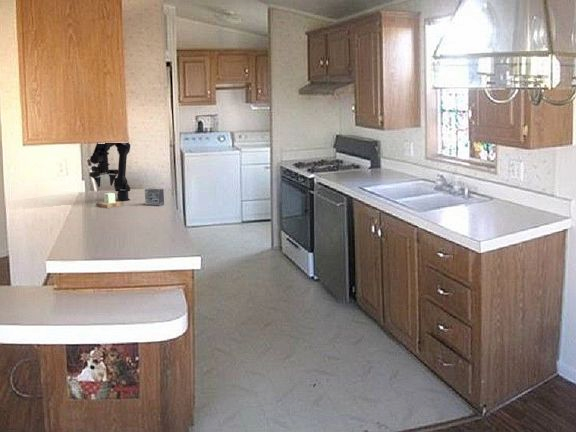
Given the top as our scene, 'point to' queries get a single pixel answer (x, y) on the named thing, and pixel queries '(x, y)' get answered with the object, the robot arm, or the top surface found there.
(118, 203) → the base board
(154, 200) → the small box
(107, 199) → the block
